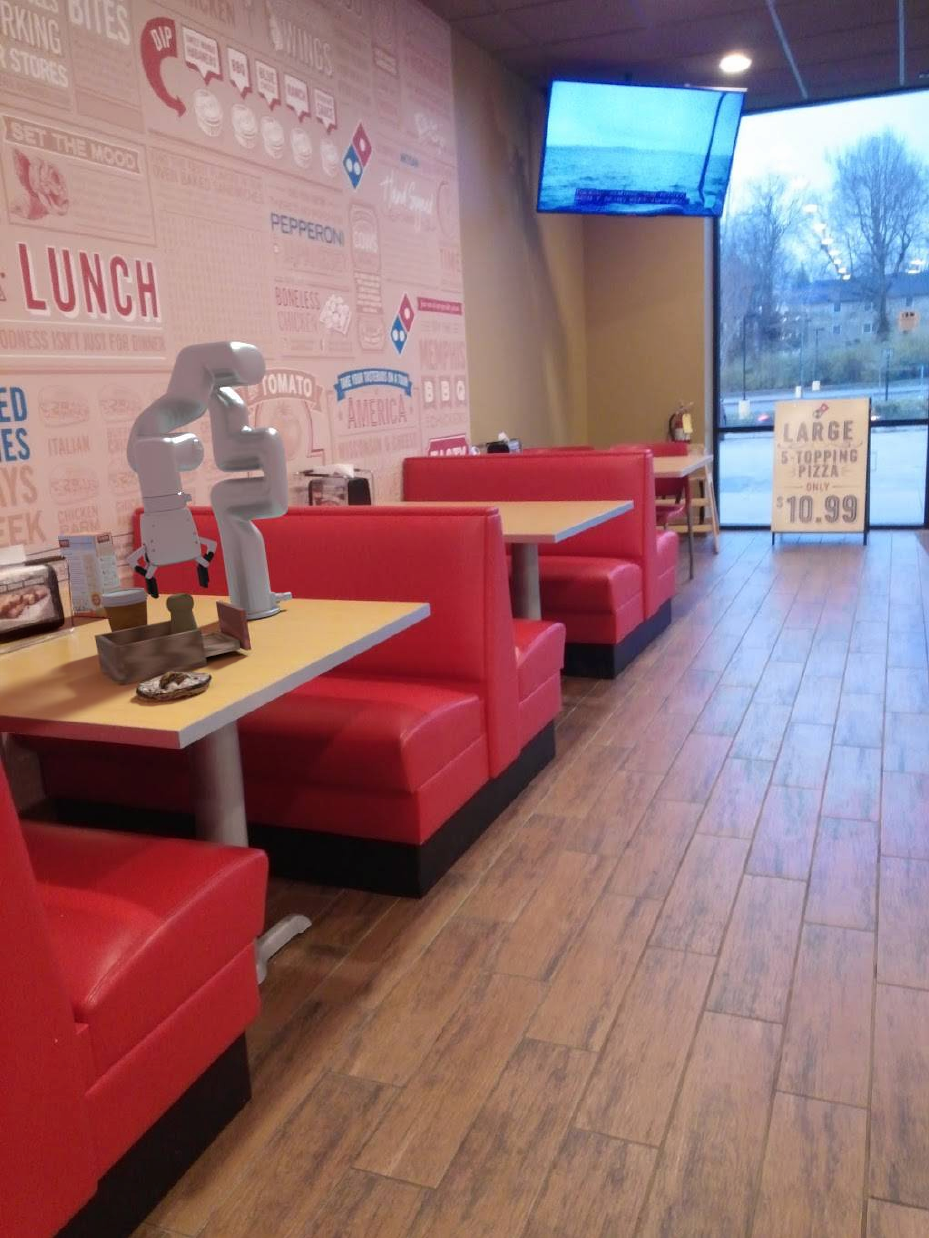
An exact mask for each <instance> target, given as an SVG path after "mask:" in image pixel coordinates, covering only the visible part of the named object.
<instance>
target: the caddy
mask: <svg viewBox="0 0 929 1238" xmlns="http://www.w3.org/2000/svg"><path fill="white" fill-rule="evenodd" d="M202 635H203V631H202V629H200V628H198V629H197V630H192V631H187V632H183V633H178V634H173V635H171V619H169V620H165V621H160V622H155V623H150V624H148V625H144V626H140V627H135V628H130V629H125V630H120V631H115V632H112V631H110V632H106V633H105V632H104V633H100V634H96V635H94V638H95V639H94V640H95V645H96V650H97V656H98V661H99V667H100V670H101V672H102V673H104V674H105V675H107V677H109V678H110V679H112V680H113V681H115V682H116V683H117V684H118V685H120V686H124V685H129V684H133V683H137V682H141V681H147V680H152V679H153V678H156V677H159V676H162V675H164V674H165V673H167V672H169V671H173V672H187V671H189V670H194V669H198V668H202V667H206V666H207V665H208V664H207V657H205V651H204V644H203V638H202Z"/></svg>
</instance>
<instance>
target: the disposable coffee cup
mask: <svg viewBox="0 0 929 1238" xmlns="http://www.w3.org/2000/svg"><path fill="white" fill-rule="evenodd" d="M148 596H149V594H148V593H147V590H145V588H144V587H130V588H121V590H115V591H111V592H107V593H104V594H103V595H102V600H101V601H100V602H101V603H102V605H103V606H104V609H105V612H106V615H107V618H106V619H107V621H108V625H109V627H110V630H111V631H110V632H115V631H120V630H125V629H130V628H135V627H140V626H144V625H149V624H148V623H149V622H148V602H147V600H148Z"/></svg>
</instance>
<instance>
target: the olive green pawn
mask: <svg viewBox="0 0 929 1238" xmlns="http://www.w3.org/2000/svg"><path fill="white" fill-rule="evenodd" d="M165 606H166V609H167V611H168V612H169V613H170V620H171V635H173V634H178V633H183V632H187V631H192V630H197V629H199V628H198V625H197V622H196V617H195V615H194V611H193V609H194V607H195V600H194V598H193V595H191V593H185V592H184V593H183V592H182V593H179V592H178V593H174V594H171V595H170V596H168V597H167V599H166V602H165Z"/></svg>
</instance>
